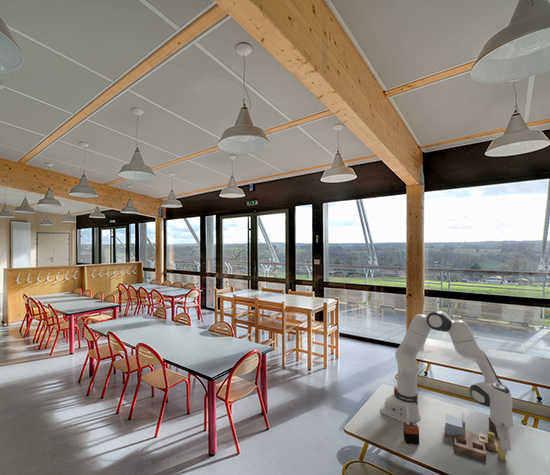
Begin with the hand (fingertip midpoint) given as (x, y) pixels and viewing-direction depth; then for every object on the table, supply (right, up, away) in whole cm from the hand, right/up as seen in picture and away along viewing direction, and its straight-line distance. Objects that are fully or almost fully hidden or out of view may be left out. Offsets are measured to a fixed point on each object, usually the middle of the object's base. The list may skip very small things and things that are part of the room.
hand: (502, 447), depth 138 cm
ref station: (-6, -6, +14) cm, 16 cm away
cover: (-12, -5, +18) cm, 22 cm away
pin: (-1, -6, 0) cm, 6 cm away
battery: (-39, -7, +12) cm, 41 cm away
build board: (-12, -6, +6) cm, 15 cm away
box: (+12, -6, +18) cm, 22 cm away
